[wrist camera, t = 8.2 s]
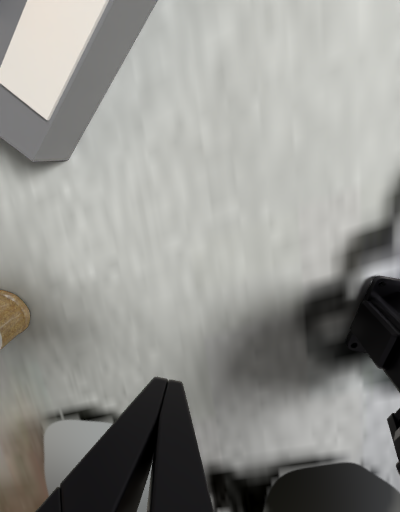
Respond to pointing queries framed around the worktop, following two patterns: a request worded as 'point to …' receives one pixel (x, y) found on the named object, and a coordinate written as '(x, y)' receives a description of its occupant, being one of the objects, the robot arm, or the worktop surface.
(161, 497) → the robot arm
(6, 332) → the sprinkles bottle
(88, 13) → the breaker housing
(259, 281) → the worktop surface
